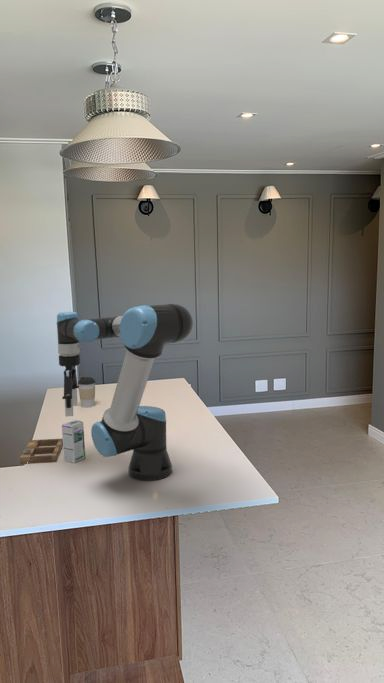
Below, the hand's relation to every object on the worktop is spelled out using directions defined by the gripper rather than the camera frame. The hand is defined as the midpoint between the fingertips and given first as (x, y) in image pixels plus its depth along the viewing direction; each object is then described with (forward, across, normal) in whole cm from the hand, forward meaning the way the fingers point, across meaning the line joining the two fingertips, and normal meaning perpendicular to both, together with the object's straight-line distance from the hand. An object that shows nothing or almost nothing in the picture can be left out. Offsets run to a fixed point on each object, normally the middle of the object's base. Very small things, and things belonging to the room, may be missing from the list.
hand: (71, 410), depth 182 cm
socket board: (+19, +8, +13) cm, 24 cm away
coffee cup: (+20, +76, +2) cm, 78 cm away
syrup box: (+19, 0, 0) cm, 19 cm away
